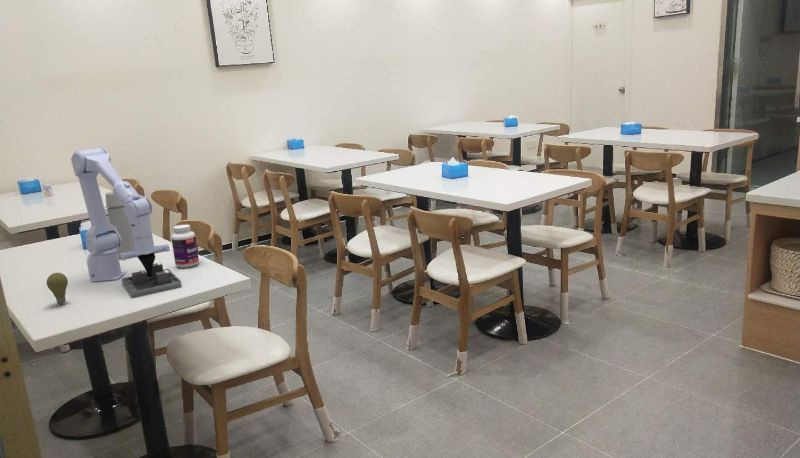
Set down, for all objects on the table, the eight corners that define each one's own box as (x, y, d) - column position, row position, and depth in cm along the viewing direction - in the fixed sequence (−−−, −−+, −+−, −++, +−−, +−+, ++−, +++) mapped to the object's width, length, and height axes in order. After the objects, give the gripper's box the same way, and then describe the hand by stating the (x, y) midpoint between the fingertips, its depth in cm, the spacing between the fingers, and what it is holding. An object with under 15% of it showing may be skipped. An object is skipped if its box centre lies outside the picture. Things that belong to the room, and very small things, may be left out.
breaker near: (158, 287, 193) (156, 274, 192) (157, 284, 195) (155, 272, 194) (172, 284, 195) (170, 271, 194) (169, 281, 197) (167, 269, 196)
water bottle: (141, 254, 235) (130, 191, 229) (122, 260, 228) (111, 195, 222) (126, 252, 240) (115, 189, 233) (108, 257, 233) (96, 193, 227)
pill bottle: (191, 269, 213) (186, 229, 210) (171, 268, 215) (165, 229, 211) (203, 262, 221) (198, 223, 217) (183, 261, 222) (177, 223, 219)
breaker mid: (135, 287, 194) (133, 274, 193) (133, 284, 196) (131, 272, 195) (148, 284, 196) (146, 271, 195) (146, 281, 199) (144, 269, 197)
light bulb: (56, 301, 188) (50, 270, 186) (75, 300, 189) (69, 269, 186) (48, 308, 183) (41, 276, 180) (67, 306, 183) (60, 275, 181)
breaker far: (151, 278, 202) (149, 266, 201) (149, 276, 204) (147, 264, 203) (164, 275, 204) (162, 263, 203) (162, 273, 206) (160, 261, 205)
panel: (131, 298, 187) (130, 292, 187) (122, 284, 201) (121, 278, 201) (181, 286, 195) (180, 281, 195) (169, 274, 209) (168, 268, 209)
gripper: (120, 243, 187) (127, 284, 190) (169, 234, 194) (175, 274, 198) (116, 238, 193) (123, 279, 196) (164, 230, 200) (170, 269, 204)
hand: (149, 276), depth 197 cm, fingers closed
